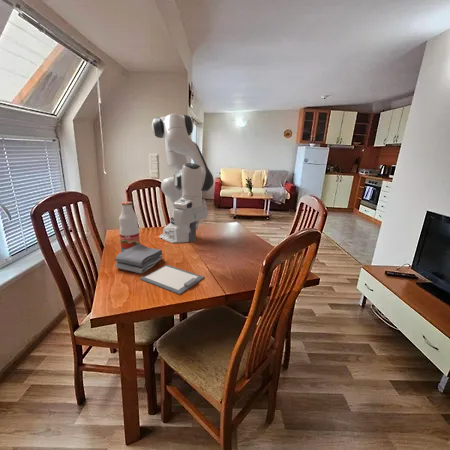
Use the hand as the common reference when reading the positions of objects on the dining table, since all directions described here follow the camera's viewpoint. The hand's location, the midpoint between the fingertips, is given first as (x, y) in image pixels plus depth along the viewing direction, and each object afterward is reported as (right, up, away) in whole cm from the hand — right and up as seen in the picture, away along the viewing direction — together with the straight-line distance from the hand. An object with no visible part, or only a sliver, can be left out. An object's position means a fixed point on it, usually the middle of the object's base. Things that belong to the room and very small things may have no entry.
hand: (192, 231), depth 114 cm
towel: (-26, -17, +6) cm, 31 cm away
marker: (0, -4, +1) cm, 5 cm away
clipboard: (-7, -20, -7) cm, 23 cm away
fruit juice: (-34, -13, +18) cm, 41 cm away
